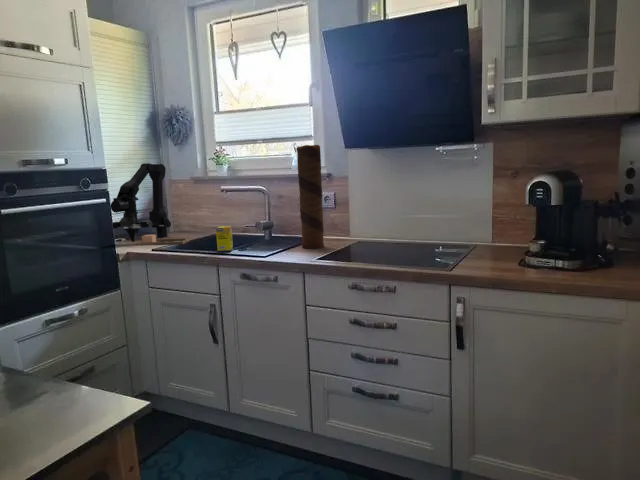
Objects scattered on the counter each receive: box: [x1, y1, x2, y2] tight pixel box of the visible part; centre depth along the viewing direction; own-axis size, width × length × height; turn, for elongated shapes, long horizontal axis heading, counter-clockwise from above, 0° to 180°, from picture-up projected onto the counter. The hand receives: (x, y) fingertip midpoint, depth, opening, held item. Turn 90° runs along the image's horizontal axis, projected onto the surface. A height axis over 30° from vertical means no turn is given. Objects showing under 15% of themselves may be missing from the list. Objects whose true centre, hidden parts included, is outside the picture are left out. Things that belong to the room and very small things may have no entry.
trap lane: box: [137, 237, 191, 247], centre depth 256 cm, size 12×22×2 cm, turn 87°
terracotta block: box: [141, 234, 157, 243], centre depth 256 cm, size 5×5×4 cm
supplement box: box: [215, 225, 234, 253], centre depth 230 cm, size 6×6×11 cm
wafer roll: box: [296, 144, 325, 249], centre depth 229 cm, size 10×11×45 cm
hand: (133, 241), depth 257 cm, fingers closed
